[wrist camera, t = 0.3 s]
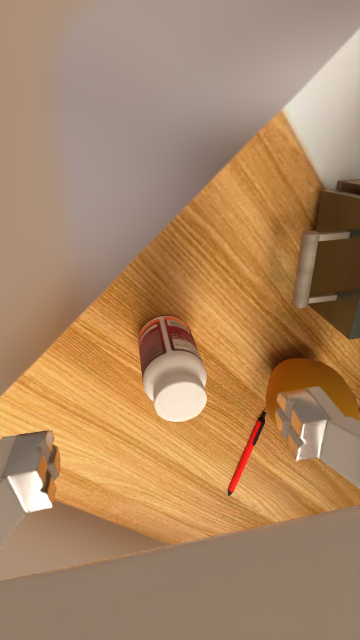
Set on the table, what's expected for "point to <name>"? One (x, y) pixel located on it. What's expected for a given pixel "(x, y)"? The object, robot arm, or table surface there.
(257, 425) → the pen
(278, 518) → the table surface
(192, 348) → the pill bottle
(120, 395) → the table surface
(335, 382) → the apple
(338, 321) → the drawer
